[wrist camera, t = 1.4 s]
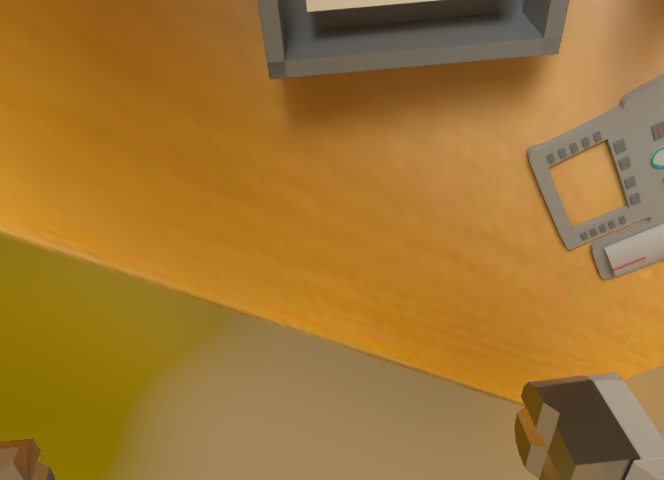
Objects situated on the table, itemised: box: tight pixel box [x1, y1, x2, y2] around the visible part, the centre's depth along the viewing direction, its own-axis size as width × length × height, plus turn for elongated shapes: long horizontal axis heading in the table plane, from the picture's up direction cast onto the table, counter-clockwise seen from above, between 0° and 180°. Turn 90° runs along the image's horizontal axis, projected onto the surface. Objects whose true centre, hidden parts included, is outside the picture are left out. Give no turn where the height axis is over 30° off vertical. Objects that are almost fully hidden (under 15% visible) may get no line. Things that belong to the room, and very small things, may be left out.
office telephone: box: [526, 75, 664, 280], centre depth 55 cm, size 23×3×20 cm
